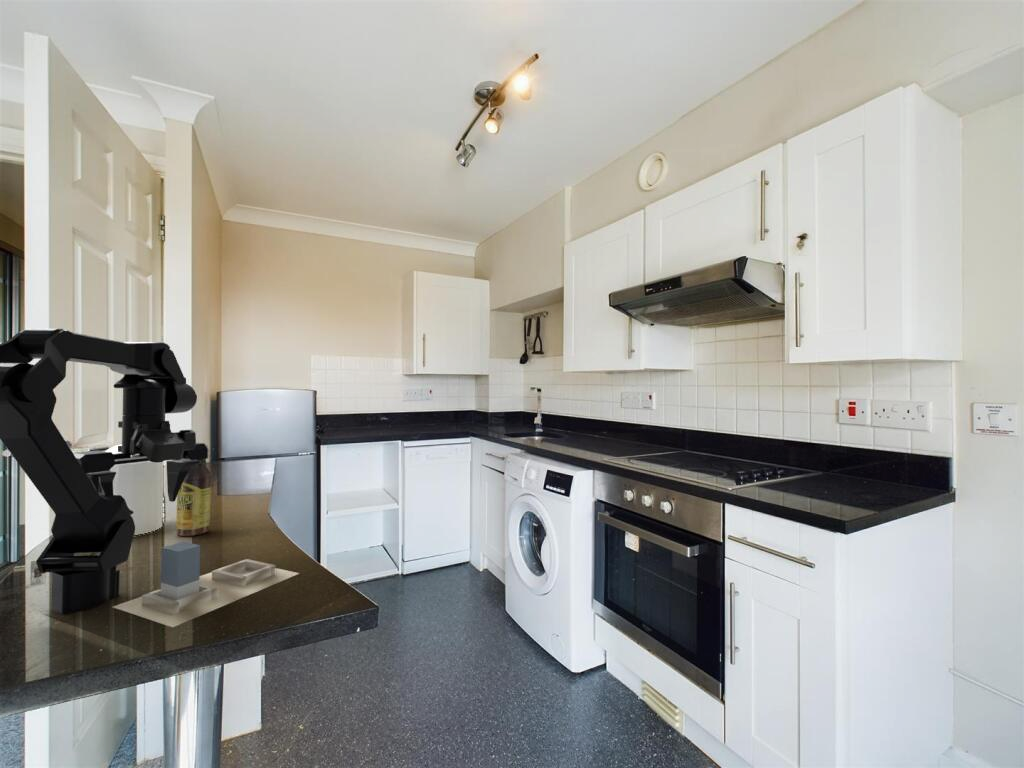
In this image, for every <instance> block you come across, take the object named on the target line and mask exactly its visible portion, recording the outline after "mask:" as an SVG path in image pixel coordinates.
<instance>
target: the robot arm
mask: <svg viewBox="0 0 1024 768" xmlns="http://www.w3.org/2000/svg"><path fill="white" fill-rule="evenodd" d="M34 359H39V360H38V361H37V362H36V363H35V364H32V363H31V362H32V361H34ZM67 362H72V363H74V362H75V363H82V364H89V365H98V366H105V367H108V368H109V369H110V370H111V371H113V372H115V373H118V374H121V375H123V376H122V378H120V379H118V380H117V381H116V382H114V384H113V388H114V389H122V414H121V415H122V421H121V420H120V421H119V420H118V424H117V425H118V426H117V427H118V429H119V428H120V429H121V445H122V446H118V452H122V453H116V454H112V452H106V450H90V451H87V450H86V451H80V452H79V451H78V452H77V451H75V452H73V450H72V449H71V448H70V447H69V444H68V443H67V442H66V439H65V438H64V437H63V435H62V433H61V432H60V430H59V428H58V427H57V426H56V424H55V423H54V421H53V419H52V416H53V413H54V411H55V407H56V403H57V397H56V394H55V391H54V390H55V389H56V388H57V386H59V384H61V382H63V381H64V379H65V378H66V375H67ZM197 400H198V395H197V393H196V391H195V389H194V387H192V386H191V385H189V384H187V378H186V377H185V376H184V374H183V372H182V369H181V367H180V364H179V362H178V360H177V358H176V355H175V354H174V351H173V350H172V349H171V347H170V345H169V344H168V343H166V342H161V341H159V342H156V341H155V342H154V341H119V340H113V339H107V338H103V337H102V338H101V337H97V336H91V335H87V334H81V333H77V332H72V331H69V330H66V328H65V329H63V328H45V327H44V328H43V327H42V328H41V327H40V328H38V327H36V328H35V327H28V328H26V329H23V330H21V331H18V332H17V333H16V334H14V335H13V336H12V337H11V338H10V339H8V340H6V341H4V342H2V343H0V440H1V442H2V443H3V444H4V446H5V447H6V448H7V450H8V451H9V453H10V454H11V456H12V457H13V458H14V459H15V460H16V463H18V465H19V466H20V468H21V469H22V470H23V472H24V473H25V474H26V476H27V477H28V478H29V479H30V481H31V483H32V484H33V486H34V487H35V488H36V489H37V491H38V492H39V494H40V495H41V497H43V499H44V500H45V501H46V504H47V505H48V506H49V507H50V509H51V510H52V511H53V513H54V515H55V516H54V519H53V521H52V525H51V527H50V532H51V534H52V538H51V540H50V541H49V543H47V545H46V546H45V548H44V549H43V551H42V552H41V553H40V555H39V556H38V557H37V559H36V561H35V564H36V567H37V569H38V572H39V574H47V573H51V594H50V595H51V596H50V598H51V600H50V606H51V607H50V611H51V612H53V613H56V614H58V615H60V616H61V615H62V616H64V615H67V614H70V613H77V612H83V611H87V610H90V609H94V608H97V607H99V606H102V605H104V604H106V603H108V602H109V601H110V600H112V599H115V598H117V597H119V596H120V592H121V591H120V589H121V588H120V587H121V583H120V582H121V569H118V568H117V566H119V565H121V564H123V563H125V562H127V561H128V560H129V557H130V552H131V549H132V545H133V540H134V537H135V536H134V533H135V524H134V521H133V518H132V516H131V514H133V511H131V510H130V509H129V508H128V506H127V504H126V501H125V499H124V498H123V497H122V496H121V495H113V480H114V477H115V475H116V472H112V471H110V469H111V468H112V467H113V466H114V465H118V464H126V463H135V462H143V461H151V462H156V463H158V462H162V463H163V462H164V461H166V462H165V463H166V478H167V479H166V485H167V497H168V501H169V502H172V503H174V502H175V501H177V496H178V493H179V490H180V488H181V486H182V483H183V481H184V479H185V477H186V475H187V473H188V472H189V470H190V469H191V468H193V467H194V466H195V465H196V464H200V463H201V461H197V460H199V459H206V460H208V458H209V447H208V445H207V444H205V443H203V442H197V438H196V434H197V433H196V431H194V429H193V430H192V429H182V430H179V432H177V431H176V432H173V431H171V430H172V429H171V423H170V420H166V414H167V415H168V414H179V413H180V414H181V413H186V412H189V411H190V410H192V409H193V408H194V407H195V406H196V404H197ZM206 445H207V446H206ZM135 454H139V455H135ZM131 455H132V456H131ZM75 554H91V555H75ZM92 554H93V555H92ZM94 554H98V555H94ZM44 615H45V616H48V617H50V618H52V619H56V620H57V621H60V622H63V623H66V624H67V622H66V621H63V620H60V619H58V618H55V617H53V616H51V615H48V614H45V613H44Z"/></svg>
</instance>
